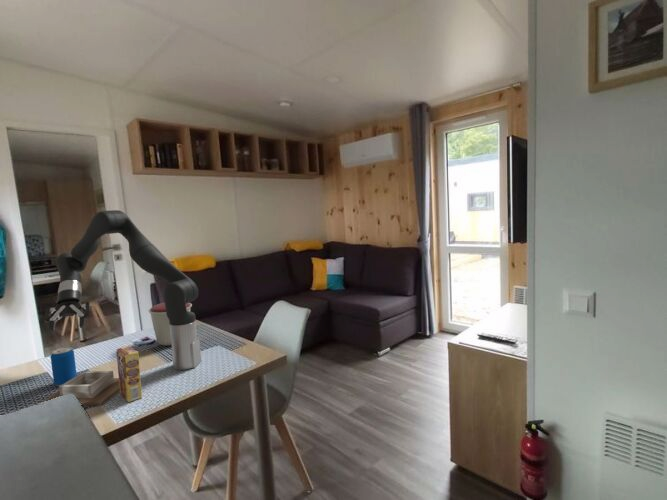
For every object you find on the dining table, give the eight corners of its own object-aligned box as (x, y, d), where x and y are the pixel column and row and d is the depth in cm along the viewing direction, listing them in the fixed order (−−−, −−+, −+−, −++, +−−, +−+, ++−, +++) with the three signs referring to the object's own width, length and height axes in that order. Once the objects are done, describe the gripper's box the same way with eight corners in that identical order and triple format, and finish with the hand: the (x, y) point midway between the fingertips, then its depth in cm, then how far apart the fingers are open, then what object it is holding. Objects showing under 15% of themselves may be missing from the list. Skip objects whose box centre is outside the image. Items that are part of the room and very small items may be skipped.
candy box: (143, 397, 108) (138, 351, 107) (128, 403, 105) (123, 356, 104) (134, 388, 114) (129, 345, 113) (119, 393, 111) (115, 349, 110)
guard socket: (133, 380, 120) (131, 366, 120) (101, 405, 104) (99, 390, 104) (78, 381, 121) (76, 368, 120) (38, 407, 105) (36, 391, 104)
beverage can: (74, 376, 125) (70, 345, 124) (79, 381, 121) (75, 349, 120) (52, 384, 120) (48, 351, 119) (56, 389, 116) (52, 355, 115)
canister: (156, 338, 164) (152, 295, 162) (196, 332, 169) (192, 291, 167) (147, 351, 147) (143, 304, 144) (192, 345, 152) (188, 299, 150)
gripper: (44, 291, 132) (40, 327, 123) (89, 286, 139) (88, 320, 130) (49, 301, 137) (45, 337, 128) (92, 296, 144) (91, 330, 135)
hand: (67, 328), depth 129 cm, fingers open, 8 cm apart
